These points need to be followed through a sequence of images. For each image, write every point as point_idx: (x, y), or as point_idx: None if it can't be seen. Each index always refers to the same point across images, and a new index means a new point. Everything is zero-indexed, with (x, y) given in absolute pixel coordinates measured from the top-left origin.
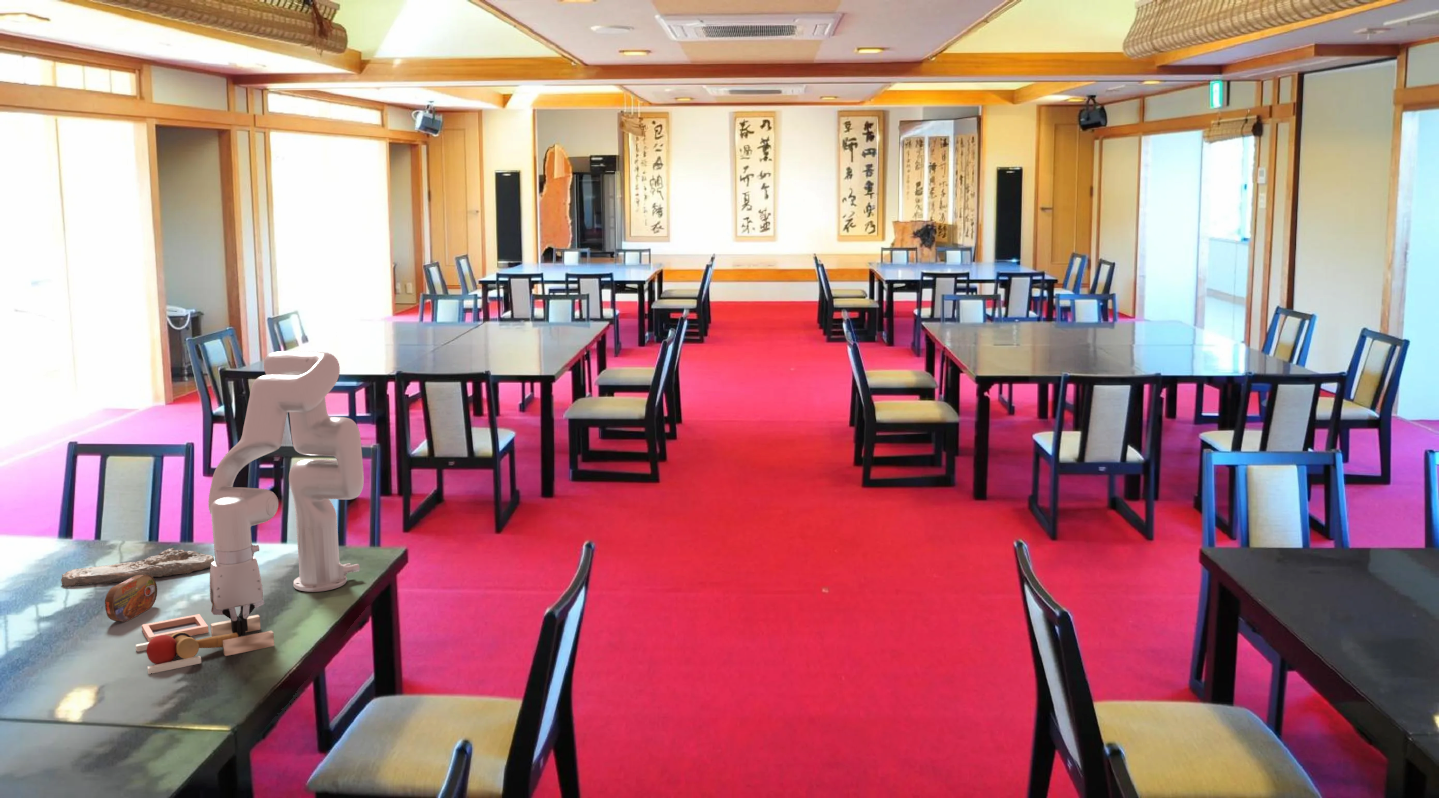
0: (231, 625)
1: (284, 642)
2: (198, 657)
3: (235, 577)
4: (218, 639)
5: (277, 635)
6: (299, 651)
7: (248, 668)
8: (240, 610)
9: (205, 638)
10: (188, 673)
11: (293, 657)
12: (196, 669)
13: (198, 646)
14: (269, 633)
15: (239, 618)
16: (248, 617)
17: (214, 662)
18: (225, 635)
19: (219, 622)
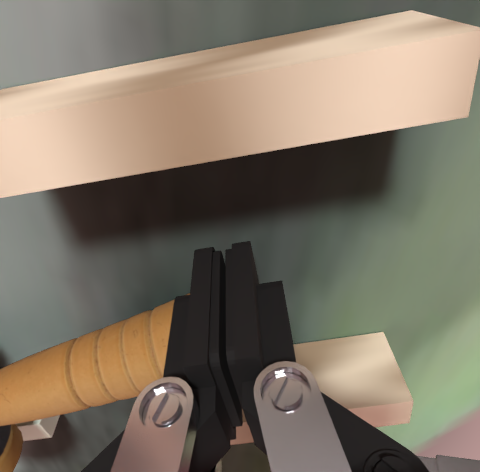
0: (170, 334)
1: (438, 333)
2: (39, 434)
3: None
4: (103, 404)
5: (454, 240)
6: (444, 415)
7: (243, 468)
8: (263, 435)
9: (19, 418)
10: (36, 457)
11: (402, 443)
12: (57, 442)
13: (14, 466)
14: (386, 424)
15: (240, 399)
16: (351, 93)
17: (117, 416)
18: (139, 389)
19: (25, 128)
